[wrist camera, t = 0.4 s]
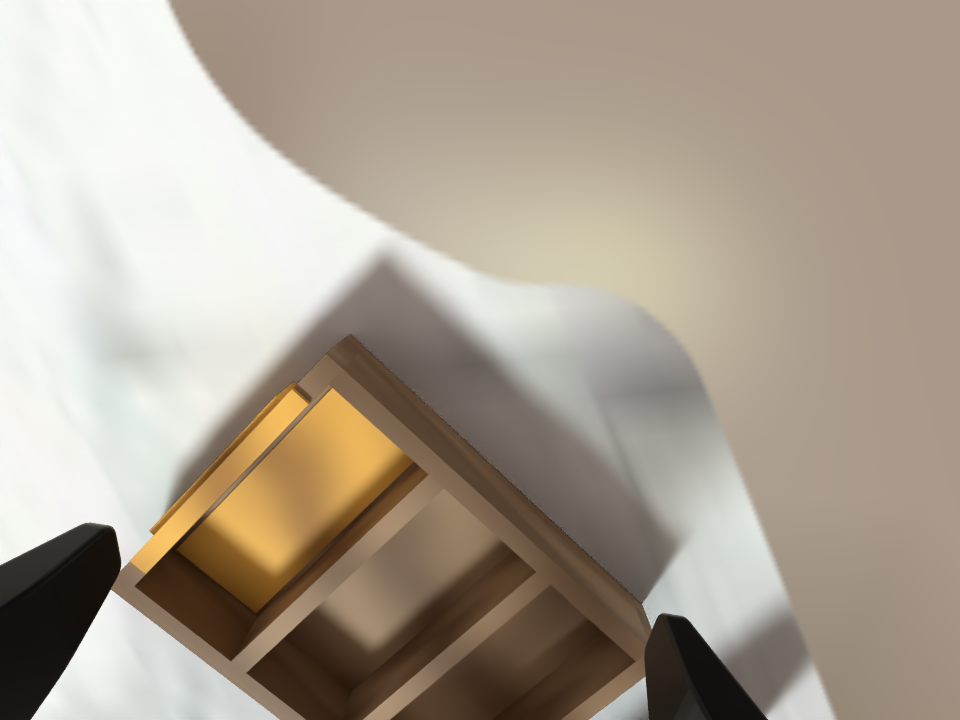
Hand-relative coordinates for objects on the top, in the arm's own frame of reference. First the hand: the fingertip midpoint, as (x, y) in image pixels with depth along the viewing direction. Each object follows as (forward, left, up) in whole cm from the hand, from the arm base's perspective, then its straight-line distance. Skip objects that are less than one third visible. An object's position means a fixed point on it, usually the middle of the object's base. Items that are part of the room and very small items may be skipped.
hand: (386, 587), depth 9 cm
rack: (-9, -5, -15) cm, 18 cm away
